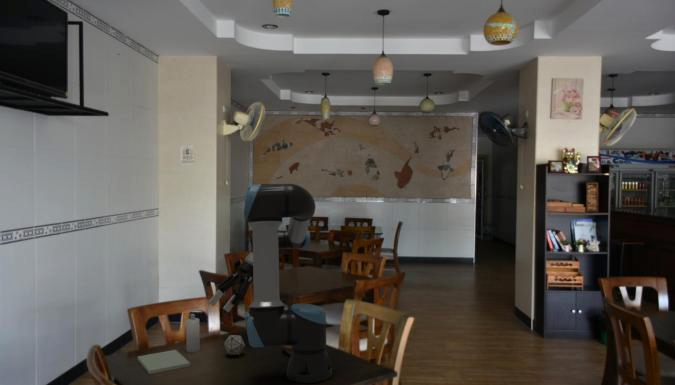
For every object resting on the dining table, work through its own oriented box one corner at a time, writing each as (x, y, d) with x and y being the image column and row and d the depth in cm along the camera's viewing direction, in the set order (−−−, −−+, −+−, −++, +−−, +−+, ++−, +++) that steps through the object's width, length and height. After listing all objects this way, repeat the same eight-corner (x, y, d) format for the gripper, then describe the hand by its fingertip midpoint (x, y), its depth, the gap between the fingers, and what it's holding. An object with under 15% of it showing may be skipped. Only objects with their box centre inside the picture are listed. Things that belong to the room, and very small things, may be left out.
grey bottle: (201, 350, 202) (201, 314, 202) (188, 353, 200) (188, 316, 199) (197, 347, 207) (196, 312, 206) (185, 349, 204) (184, 314, 204)
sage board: (190, 366, 185) (189, 362, 185) (149, 374, 178) (149, 370, 178) (175, 352, 200) (175, 349, 200) (137, 359, 193) (137, 356, 193)
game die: (235, 367, 195) (229, 350, 188) (221, 354, 199) (214, 338, 193) (253, 350, 200) (248, 334, 193) (238, 339, 204) (233, 323, 198)
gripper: (271, 275, 210) (238, 318, 201) (242, 268, 230) (211, 307, 221) (260, 263, 207) (225, 307, 198) (231, 257, 227) (199, 296, 218)
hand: (218, 307), depth 209 cm, fingers open, 13 cm apart
